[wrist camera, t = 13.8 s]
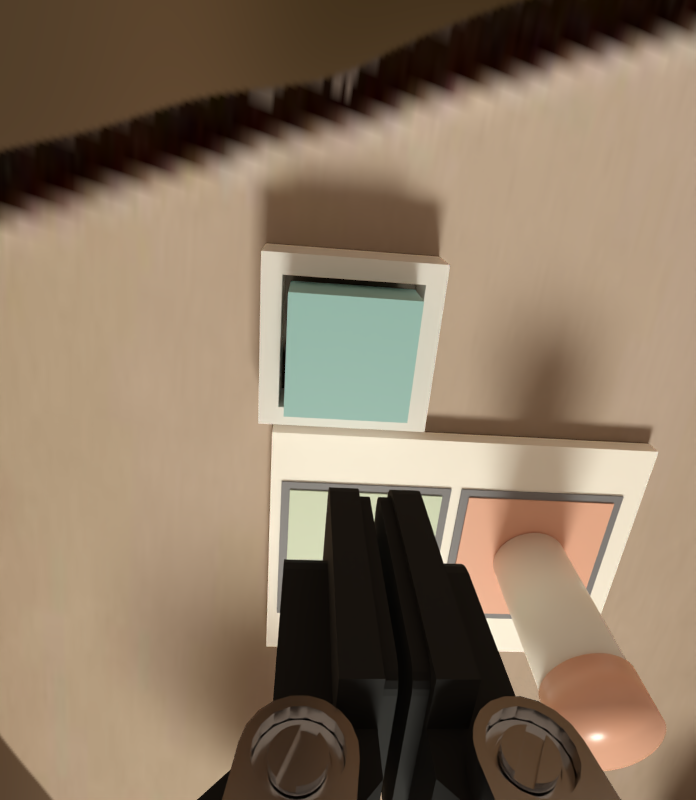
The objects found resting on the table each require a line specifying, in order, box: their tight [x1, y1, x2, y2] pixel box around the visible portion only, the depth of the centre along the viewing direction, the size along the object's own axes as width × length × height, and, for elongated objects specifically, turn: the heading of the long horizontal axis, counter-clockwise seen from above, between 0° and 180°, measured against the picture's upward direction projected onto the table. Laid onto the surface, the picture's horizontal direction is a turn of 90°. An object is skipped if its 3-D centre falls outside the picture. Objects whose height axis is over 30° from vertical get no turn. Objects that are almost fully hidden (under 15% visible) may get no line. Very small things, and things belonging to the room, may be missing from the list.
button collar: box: [258, 243, 450, 432], centre depth 22 cm, size 7×7×2 cm
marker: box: [493, 533, 666, 771], centre depth 23 cm, size 4×4×9 cm
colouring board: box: [266, 424, 658, 652], centre depth 27 cm, size 18×13×1 cm
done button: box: [284, 281, 424, 423], centre depth 21 cm, size 5×5×2 cm
